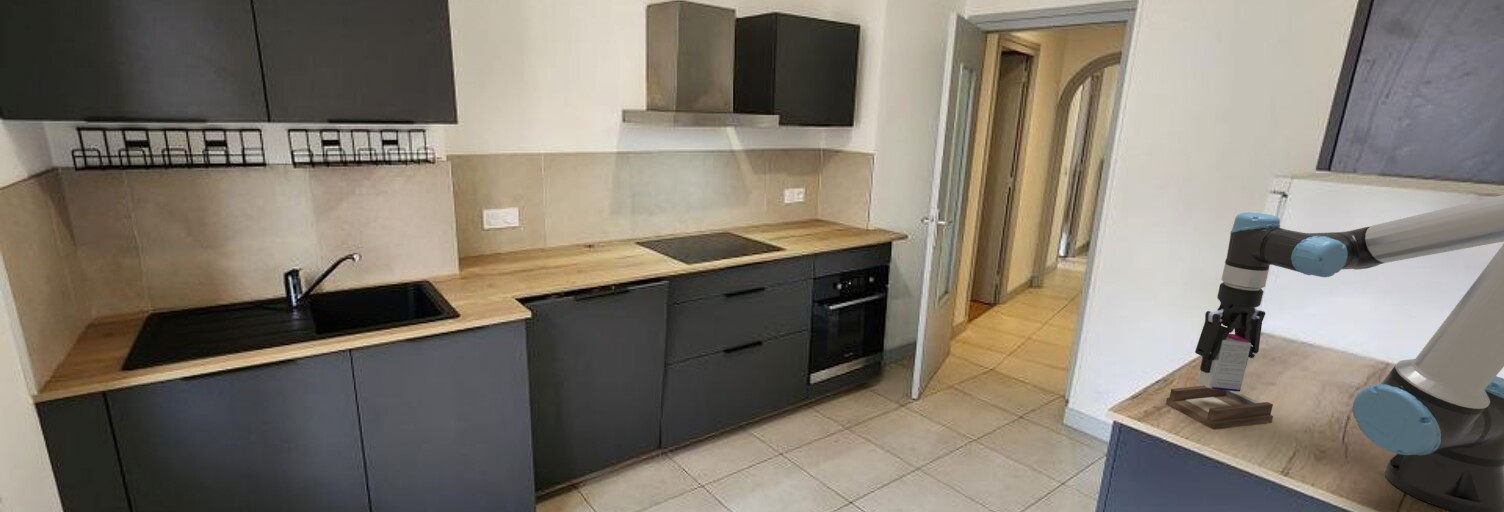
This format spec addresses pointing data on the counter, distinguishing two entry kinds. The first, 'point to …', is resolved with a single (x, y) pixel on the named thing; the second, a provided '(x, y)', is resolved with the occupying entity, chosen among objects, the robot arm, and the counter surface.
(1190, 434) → the counter surface
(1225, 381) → the supplement box
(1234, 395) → the brown wooden tray
